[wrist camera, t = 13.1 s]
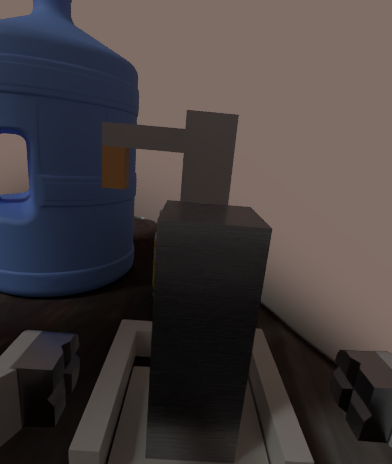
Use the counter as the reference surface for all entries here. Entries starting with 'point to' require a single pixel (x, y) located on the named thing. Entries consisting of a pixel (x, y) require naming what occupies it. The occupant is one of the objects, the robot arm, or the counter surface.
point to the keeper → (139, 332)
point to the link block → (203, 328)
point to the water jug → (63, 156)
